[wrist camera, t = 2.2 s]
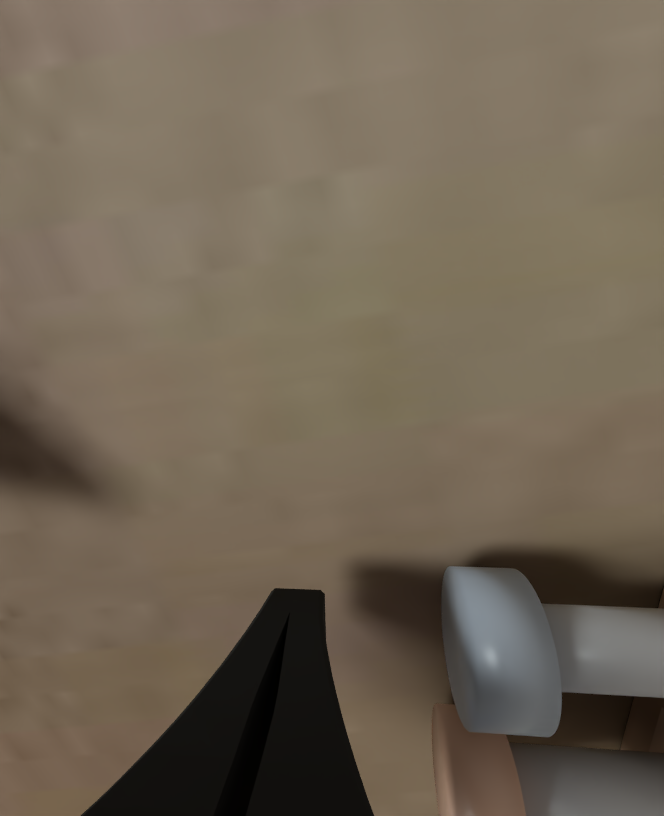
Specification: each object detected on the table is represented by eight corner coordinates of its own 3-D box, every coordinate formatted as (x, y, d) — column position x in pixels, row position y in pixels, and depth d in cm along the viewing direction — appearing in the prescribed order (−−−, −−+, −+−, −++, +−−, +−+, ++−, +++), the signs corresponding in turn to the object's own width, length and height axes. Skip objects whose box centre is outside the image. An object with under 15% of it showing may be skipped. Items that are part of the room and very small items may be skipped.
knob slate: (438, 635, 11) (470, 772, 8) (445, 539, 10) (486, 647, 7) (675, 647, 11) (816, 798, 7) (705, 546, 10) (880, 668, 6)
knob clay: (429, 752, 12) (454, 910, 9) (435, 676, 12) (465, 821, 8) (640, 767, 12) (745, 940, 9) (663, 688, 11) (791, 849, 8)
